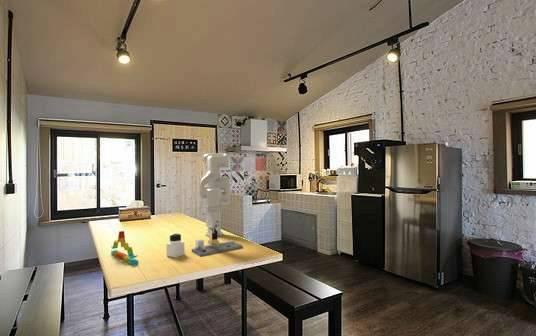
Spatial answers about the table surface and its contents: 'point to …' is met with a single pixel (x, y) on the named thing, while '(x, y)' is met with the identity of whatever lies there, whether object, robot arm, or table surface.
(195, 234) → the table surface
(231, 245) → the bolt plate
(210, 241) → the brass slider
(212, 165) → the robot arm
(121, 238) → the multicolored stepped triangle frame
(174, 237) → the medicine bottle
